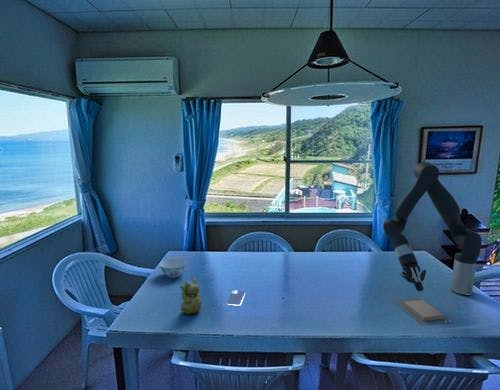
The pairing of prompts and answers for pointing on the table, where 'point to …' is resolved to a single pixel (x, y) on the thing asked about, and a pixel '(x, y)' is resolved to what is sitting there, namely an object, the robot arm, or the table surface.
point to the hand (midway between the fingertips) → (420, 290)
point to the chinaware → (173, 266)
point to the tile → (423, 310)
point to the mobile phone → (236, 298)
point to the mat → (430, 322)
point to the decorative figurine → (190, 297)
